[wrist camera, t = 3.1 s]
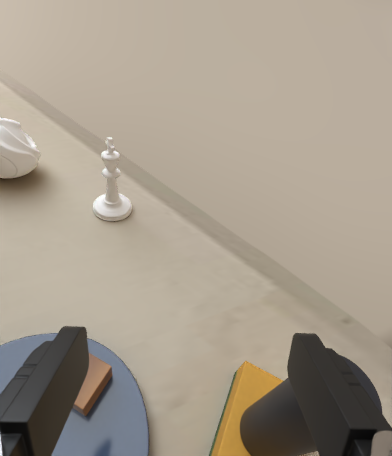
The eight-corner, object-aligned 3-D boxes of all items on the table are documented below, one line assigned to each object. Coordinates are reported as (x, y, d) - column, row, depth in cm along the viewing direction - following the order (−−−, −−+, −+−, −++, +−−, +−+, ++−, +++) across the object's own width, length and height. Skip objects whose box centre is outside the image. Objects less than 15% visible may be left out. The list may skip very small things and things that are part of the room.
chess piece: (101, 225, 33) (94, 153, 26) (87, 201, 35) (78, 129, 28) (138, 215, 35) (141, 146, 28) (122, 193, 38) (122, 125, 31)
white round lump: (51, 183, 37) (38, 129, 31) (-16, 196, 33) (-43, 137, 27) (35, 154, 41) (22, 102, 35) (-26, 162, 37) (-52, 105, 31)
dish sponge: (266, 530, 17) (421, 565, 8) (198, 487, 18) (272, 474, 9) (286, 400, 23) (392, 336, 14) (235, 372, 24) (302, 294, 15)
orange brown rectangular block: (38, 385, 19) (32, 377, 18) (69, 348, 22) (65, 338, 20) (85, 416, 19) (82, 409, 17) (112, 375, 21) (111, 366, 19)
